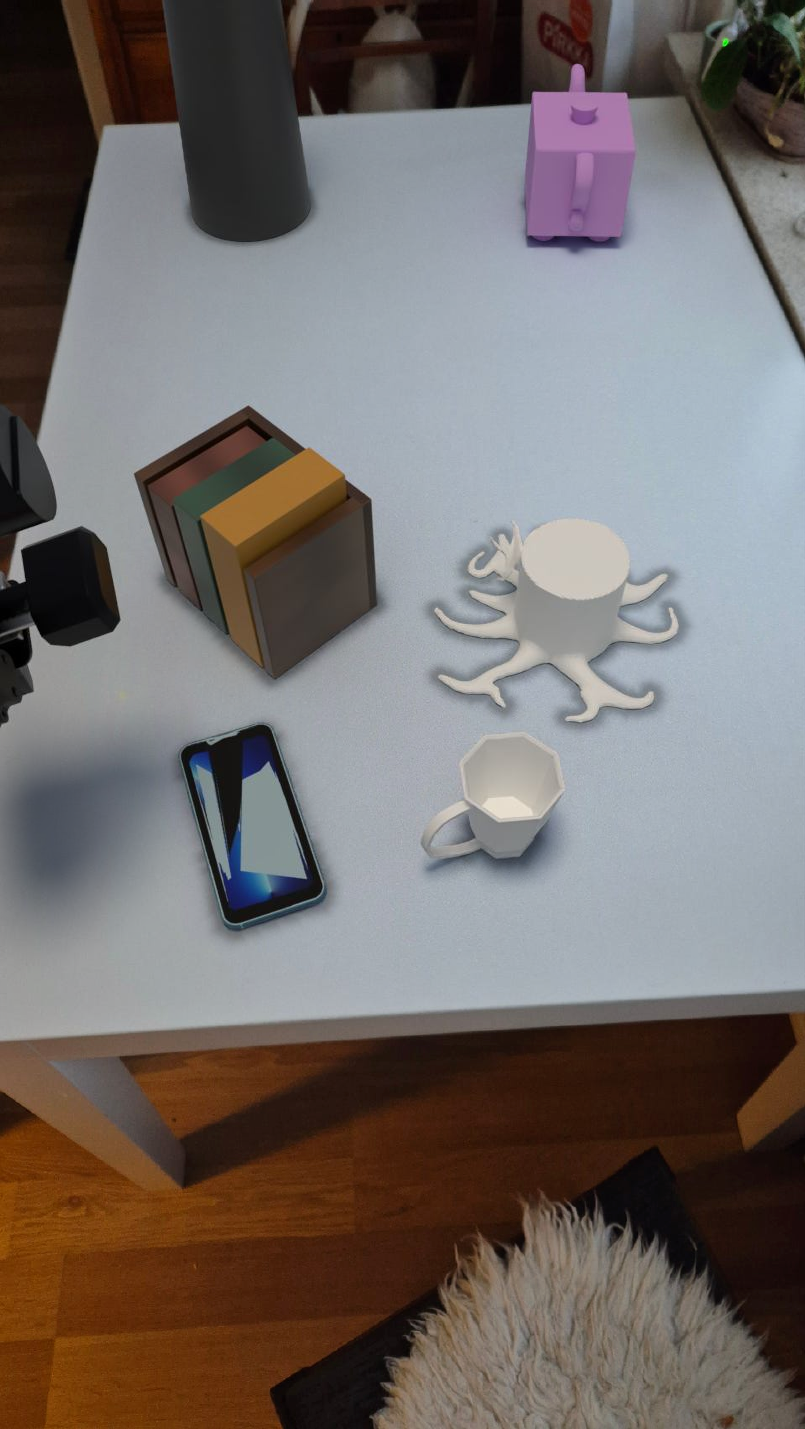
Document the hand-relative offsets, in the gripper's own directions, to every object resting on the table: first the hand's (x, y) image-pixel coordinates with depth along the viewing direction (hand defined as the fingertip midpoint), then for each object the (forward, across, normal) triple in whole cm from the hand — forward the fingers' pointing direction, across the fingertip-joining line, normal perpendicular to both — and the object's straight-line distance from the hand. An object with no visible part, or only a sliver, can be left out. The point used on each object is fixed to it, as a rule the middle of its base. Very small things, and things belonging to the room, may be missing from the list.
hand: (27, 687), depth 64 cm
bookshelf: (+17, +14, +12) cm, 25 cm away
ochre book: (+17, +15, +9) cm, 24 cm away
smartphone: (+13, +9, -9) cm, 18 cm away
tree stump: (+20, +35, +2) cm, 41 cm away
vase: (+27, +22, +69) cm, 77 cm away
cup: (+16, +24, -15) cm, 33 cm away
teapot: (+33, +56, +57) cm, 86 cm away
